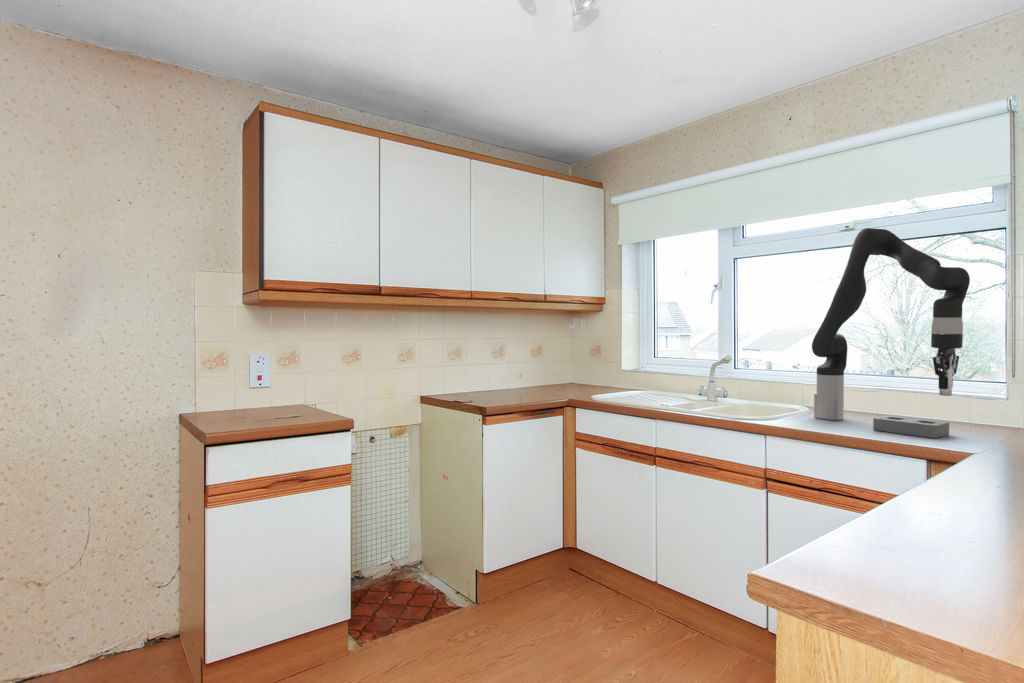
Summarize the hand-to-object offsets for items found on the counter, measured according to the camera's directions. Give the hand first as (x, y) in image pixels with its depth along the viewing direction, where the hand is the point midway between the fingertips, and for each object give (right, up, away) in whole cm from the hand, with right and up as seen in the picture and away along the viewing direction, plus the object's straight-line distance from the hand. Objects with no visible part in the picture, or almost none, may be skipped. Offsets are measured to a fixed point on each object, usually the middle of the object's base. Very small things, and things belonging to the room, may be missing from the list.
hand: (945, 388), depth 167 cm
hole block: (+1, -16, +17) cm, 23 cm away
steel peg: (0, -2, 0) cm, 2 cm away
